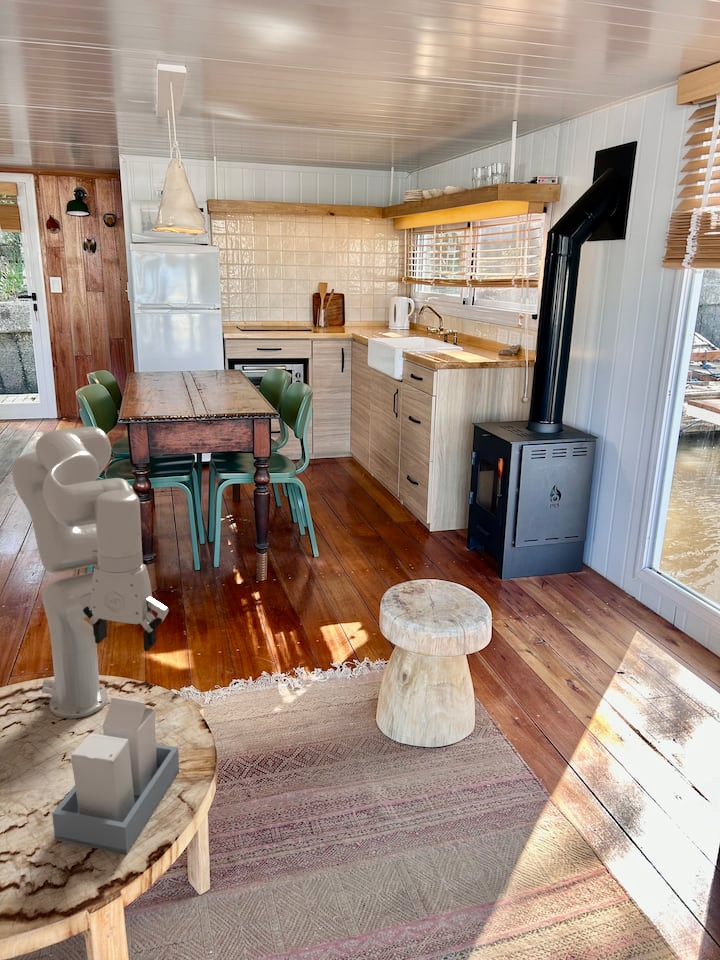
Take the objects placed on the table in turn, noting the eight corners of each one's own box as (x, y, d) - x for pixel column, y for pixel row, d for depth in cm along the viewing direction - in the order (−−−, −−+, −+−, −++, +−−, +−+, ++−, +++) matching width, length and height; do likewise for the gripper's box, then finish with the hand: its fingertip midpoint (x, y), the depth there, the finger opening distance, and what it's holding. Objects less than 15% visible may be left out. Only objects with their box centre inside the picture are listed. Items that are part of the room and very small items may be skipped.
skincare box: (135, 807, 140) (131, 738, 135) (117, 832, 134) (113, 761, 129) (95, 798, 141) (90, 730, 137) (76, 823, 135) (70, 753, 130)
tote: (55, 840, 133) (52, 813, 131) (115, 760, 153) (114, 736, 152) (126, 854, 130) (125, 827, 129) (178, 772, 151) (178, 747, 149)
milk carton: (140, 797, 142) (136, 713, 137) (107, 790, 144) (101, 707, 138) (157, 772, 149) (154, 692, 143) (125, 766, 150) (120, 686, 144)
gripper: (64, 561, 129) (71, 647, 135) (156, 574, 126) (159, 661, 132) (87, 545, 136) (93, 627, 142) (174, 557, 133) (177, 640, 139)
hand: (125, 643), depth 137 cm, fingers open, 9 cm apart
